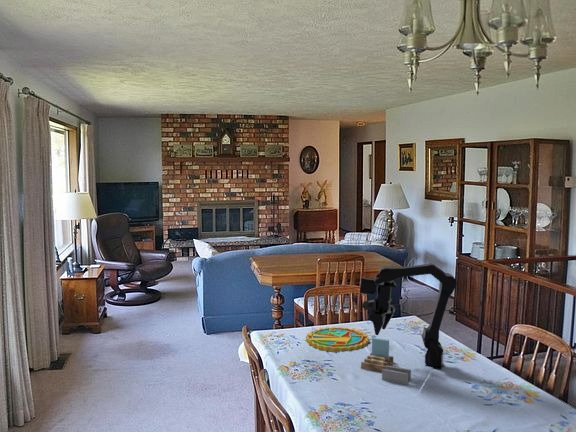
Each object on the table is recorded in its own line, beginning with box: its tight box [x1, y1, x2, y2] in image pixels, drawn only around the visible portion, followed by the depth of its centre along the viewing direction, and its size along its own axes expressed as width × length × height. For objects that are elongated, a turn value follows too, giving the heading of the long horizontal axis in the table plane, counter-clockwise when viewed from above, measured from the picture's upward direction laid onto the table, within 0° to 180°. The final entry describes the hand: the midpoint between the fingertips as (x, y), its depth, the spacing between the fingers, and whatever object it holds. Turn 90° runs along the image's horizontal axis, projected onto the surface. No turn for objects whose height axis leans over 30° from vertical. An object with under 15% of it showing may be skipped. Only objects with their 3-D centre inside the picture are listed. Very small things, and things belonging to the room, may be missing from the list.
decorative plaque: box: [305, 326, 370, 353], centre depth 244 cm, size 30×3×30 cm
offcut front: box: [369, 355, 385, 362], centre depth 212 cm, size 6×2×4 cm, turn 62°
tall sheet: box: [371, 337, 390, 359], centre depth 215 cm, size 7×2×10 cm, turn 62°
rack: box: [359, 352, 395, 373], centre depth 212 cm, size 11×12×3 cm
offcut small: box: [371, 359, 384, 365], centre depth 208 cm, size 5×2×4 cm, turn 62°
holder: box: [381, 365, 412, 385], centre depth 198 cm, size 10×5×4 cm, turn 62°
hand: (380, 332), depth 215 cm, fingers open, 9 cm apart
